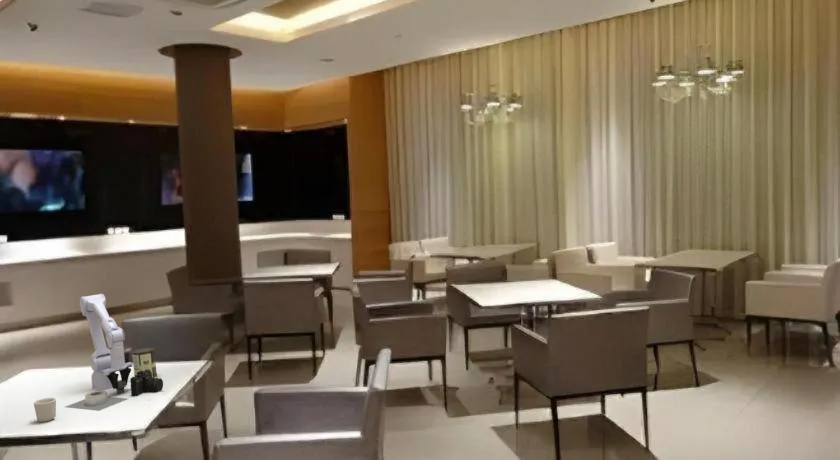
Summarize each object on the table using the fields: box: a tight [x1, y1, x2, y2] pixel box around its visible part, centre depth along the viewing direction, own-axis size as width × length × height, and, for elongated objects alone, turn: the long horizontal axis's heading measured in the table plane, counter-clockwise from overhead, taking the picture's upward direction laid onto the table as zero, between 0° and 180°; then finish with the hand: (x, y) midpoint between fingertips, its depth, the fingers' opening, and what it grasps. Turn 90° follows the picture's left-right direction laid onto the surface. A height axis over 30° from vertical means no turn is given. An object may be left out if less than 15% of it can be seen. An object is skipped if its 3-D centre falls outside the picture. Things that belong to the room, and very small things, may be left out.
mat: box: [64, 396, 128, 412], centre depth 304 cm, size 20×16×1 cm
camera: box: [129, 369, 164, 397], centre depth 317 cm, size 14×11×10 cm
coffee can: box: [131, 347, 158, 378], centre depth 342 cm, size 10×10×14 cm
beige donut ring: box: [84, 390, 108, 406], centre depth 304 cm, size 8×8×4 cm
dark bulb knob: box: [115, 379, 127, 395], centre depth 317 cm, size 5×5×6 cm
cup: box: [33, 397, 57, 423], centre depth 289 cm, size 11×8×8 cm
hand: (120, 386), depth 317 cm, fingers closed on dark bulb knob, 5 cm apart
